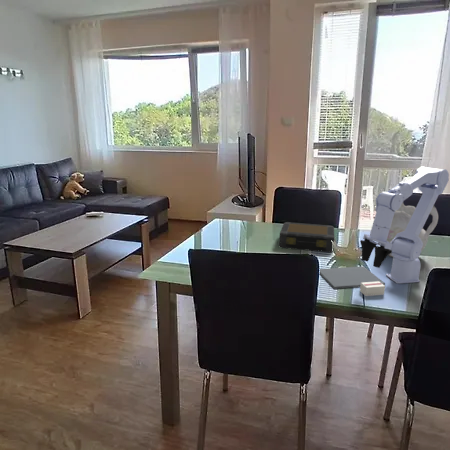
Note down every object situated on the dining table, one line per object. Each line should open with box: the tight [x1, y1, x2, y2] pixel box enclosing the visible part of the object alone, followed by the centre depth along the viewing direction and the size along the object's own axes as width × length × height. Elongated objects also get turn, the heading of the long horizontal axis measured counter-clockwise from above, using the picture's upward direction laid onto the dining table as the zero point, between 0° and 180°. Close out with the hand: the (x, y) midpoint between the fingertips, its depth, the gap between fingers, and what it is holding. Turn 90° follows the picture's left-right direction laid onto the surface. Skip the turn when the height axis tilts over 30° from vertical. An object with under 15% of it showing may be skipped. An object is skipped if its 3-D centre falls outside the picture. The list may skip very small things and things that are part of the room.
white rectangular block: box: [359, 281, 386, 297], centre depth 134 cm, size 7×4×4 cm, turn 99°
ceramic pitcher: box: [386, 202, 439, 258], centre depth 166 cm, size 22×20×25 cm
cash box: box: [278, 221, 335, 253], centre depth 184 cm, size 25×20×8 cm
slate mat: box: [319, 265, 386, 290], centre depth 147 cm, size 20×16×1 cm
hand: (370, 263), depth 132 cm, fingers open, 7 cm apart
